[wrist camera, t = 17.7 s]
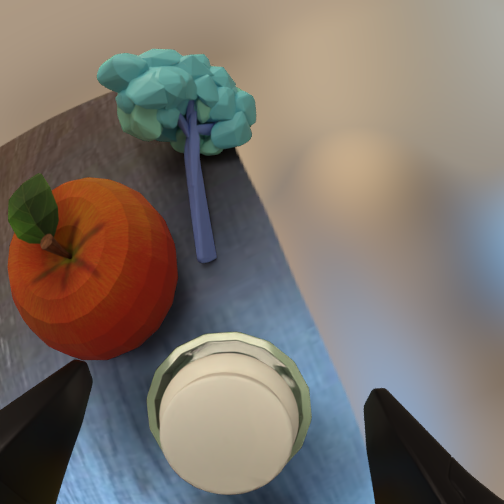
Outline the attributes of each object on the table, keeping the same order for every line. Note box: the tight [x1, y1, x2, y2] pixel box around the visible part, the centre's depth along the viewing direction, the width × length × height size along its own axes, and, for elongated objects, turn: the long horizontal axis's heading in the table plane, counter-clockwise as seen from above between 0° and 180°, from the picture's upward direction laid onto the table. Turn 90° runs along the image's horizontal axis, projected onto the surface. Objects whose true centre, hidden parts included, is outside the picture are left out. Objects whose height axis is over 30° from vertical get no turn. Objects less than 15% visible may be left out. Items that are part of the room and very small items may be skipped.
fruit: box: [8, 173, 178, 360], centre depth 14 cm, size 10×10×10 cm
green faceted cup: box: [147, 332, 312, 464], centre depth 15 cm, size 7×7×5 cm
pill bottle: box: [159, 353, 299, 495], centre depth 12 cm, size 5×5×10 cm
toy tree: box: [97, 49, 256, 263], centre depth 20 cm, size 11×9×15 cm
